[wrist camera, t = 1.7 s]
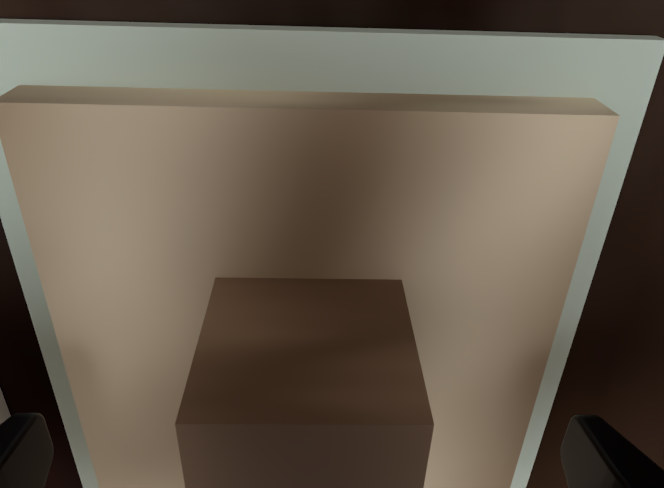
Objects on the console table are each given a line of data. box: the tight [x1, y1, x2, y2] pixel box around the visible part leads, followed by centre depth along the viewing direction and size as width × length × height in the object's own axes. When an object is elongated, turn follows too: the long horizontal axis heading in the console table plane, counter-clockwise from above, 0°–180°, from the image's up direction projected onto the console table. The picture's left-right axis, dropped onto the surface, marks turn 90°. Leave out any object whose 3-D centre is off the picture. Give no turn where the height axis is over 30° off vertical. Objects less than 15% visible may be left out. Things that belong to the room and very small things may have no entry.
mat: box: [0, 19, 664, 488], centre depth 13 cm, size 12×12×1 cm
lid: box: [0, 85, 620, 488], centre depth 10 cm, size 10×10×4 cm
